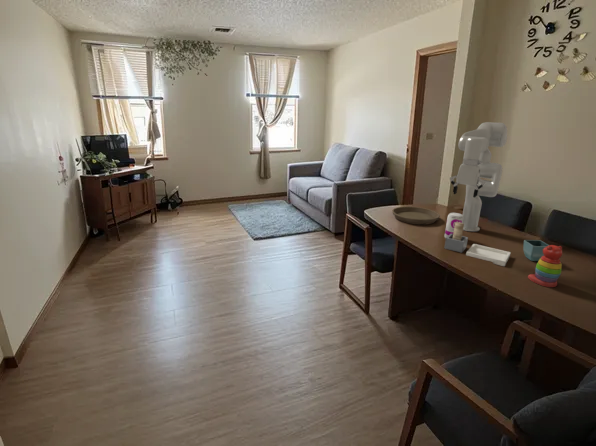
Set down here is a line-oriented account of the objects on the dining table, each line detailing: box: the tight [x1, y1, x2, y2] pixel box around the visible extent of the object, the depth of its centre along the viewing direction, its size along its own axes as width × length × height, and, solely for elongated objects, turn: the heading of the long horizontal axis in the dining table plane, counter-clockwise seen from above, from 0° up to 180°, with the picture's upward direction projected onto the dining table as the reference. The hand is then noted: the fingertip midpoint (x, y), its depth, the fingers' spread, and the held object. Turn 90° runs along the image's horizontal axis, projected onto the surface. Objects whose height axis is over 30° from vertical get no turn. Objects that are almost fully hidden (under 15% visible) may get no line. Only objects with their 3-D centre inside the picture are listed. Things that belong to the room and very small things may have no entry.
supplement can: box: [443, 212, 463, 239], centre depth 208 cm, size 8×8×15 cm
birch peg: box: [452, 222, 464, 241], centre depth 193 cm, size 4×4×14 cm
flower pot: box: [522, 239, 550, 262], centre depth 184 cm, size 9×9×9 cm
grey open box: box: [443, 234, 469, 254], centre depth 194 cm, size 9×9×7 cm
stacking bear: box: [527, 244, 563, 288], centre depth 159 cm, size 11×10×18 cm
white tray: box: [465, 243, 511, 267], centre depth 187 cm, size 15×18×2 cm
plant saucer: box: [391, 206, 441, 225], centre depth 245 cm, size 31×31×5 cm
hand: (464, 195), depth 189 cm, fingers open, 9 cm apart
